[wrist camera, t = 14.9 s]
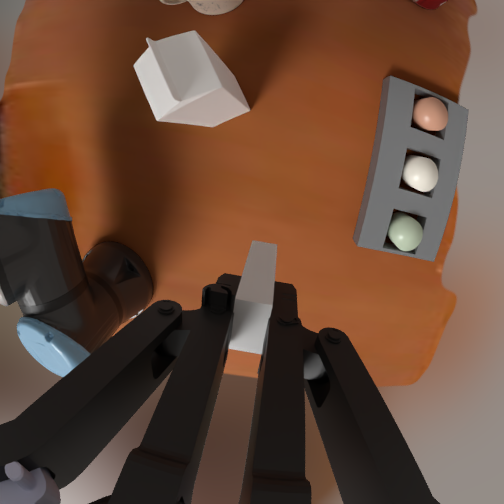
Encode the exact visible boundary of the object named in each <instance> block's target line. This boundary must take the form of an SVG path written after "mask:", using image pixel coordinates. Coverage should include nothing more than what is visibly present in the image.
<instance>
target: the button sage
mask: <svg viewBox="0 0 504 504" xmlns="http://www.w3.org/2000/svg"><path fill="white" fill-rule="evenodd" d="M387 236H388V237H389V238H390V240H391V241H392V242H393V243H394V244H395V245H396V246H397V247H398V248H399V249H400V250H403V251H411V250H413V249H415V248H416V247H417V246H418V245H419V244H420V242H421V240H422V236H423V230H422V227H421V225H420V224H419V223H418V222H417V221H416V220H415V219H413V218H412V217H410V216H409V215H408V214H406V213H404V212H396V213H394V214H392V217H391V220H390V224H389V228H388V231H387Z"/></svg>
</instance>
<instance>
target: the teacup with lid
mask: <svg viewBox="0 0 504 504" xmlns="http://www.w3.org/2000/svg"><path fill="white" fill-rule="evenodd" d="M160 1H161V2H162V3H164V4H167V5H176V4H180V3H183V2H186V1H188V2H189V3H190V4H191V5H192V7H193V8H194V9H195V10H197V11H198V12H200V13H203V14H207V15H218V14H223V13H227V12H229V11H231V10H233V9H235V8H236V7H238V6H239V5H240V4H241V3H242V1H243V0H160Z"/></svg>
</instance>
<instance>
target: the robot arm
mask: <svg viewBox="0 0 504 504" xmlns="http://www.w3.org/2000/svg"><path fill="white" fill-rule="evenodd" d="M276 255H277V244H271V243H265V242H259V241H252V244H251V247H250V251H249V254H248V257H247V261H246V264H245V267H244V271H243V274H242V276H237V275H232V274H226V273H224V274H223V275H221V276H220V277H219V278H218V280H217V282H216V284H209V285H207V286H205V287H204V288H203V291H202V306H201V308H200V309H197V310H182V307H181V306H180V304H178V303H177V302H175V301H171V300H161V301H157V302H155V303H153V304H152V305H151V306H150V307H148V308H147V309H146V310H145V311H144V309H145V308H146V307H147V305H148V304H149V302H150V300H151V298H152V294H153V284H152V279H151V276H150V273H149V271H148V269H147V267H146V265H145V264H144V262H143V261H142V260H141V258H140V257H139V256H138V255H137V254H136V253H135V252H134V251H132V250H131V249H130V248H128V247H126V246H125V245H123V244H120V243H117V242H103V243H100V244H98V245H96V246H95V247H93V248H92V249H91V250H90V251H88V253H87V254H86V255H85V257H84V258H83V261H82V259H81V256H80V252H79V249H78V245H77V242H76V238H75V234H74V230H73V226H72V217H71V216H70V214H69V211H68V207H67V203H66V199H65V196H64V194H63V193H62V192H61V191H60V190H58V189H54V188H52V189H45V190H39V191H34V192H28V193H24V194H19V195H15V196H10V197H7V198H3V199H0V304H2V305H4V306H8V305H10V304H12V303H14V302H16V301H17V302H18V304H19V306H20V309H21V311H22V313H23V317H21V318H20V319H19V322H18V324H17V333H18V336H19V338H20V340H21V342H22V343H23V345H24V346H25V348H26V349H27V350H28V352H29V353H30V354H31V355H32V356H33V357H34V358H35V359H36V360H37V361H38V362H39V363H40V364H42V365H43V366H44V367H45V368H47V369H48V370H50V371H51V372H53V373H55V374H57V375H59V376H62V377H63V378H62V379H61V380H60V381H58V382H57V383H56V384H55V385H54V386H53V387H52V388H50V389H49V390H48V391H47V392H46V393H45V394H43V395H42V396H41V397H40V398H39V399H37V400H36V401H35V402H34V403H33V404H32V405H30V406H29V407H28V408H27V409H26V410H25V411H24V412H22V413H21V414H20V415H19V416H18V417H17V418H16V419H14V420H12V421H9V422H7V423H4V424H1V425H0V504H60V501H61V499H60V492H59V489H61V488H63V487H65V486H67V485H68V484H69V483H71V482H72V481H74V480H75V479H76V478H77V477H78V476H79V475H80V474H81V473H82V472H83V471H84V470H85V469H86V468H87V467H88V465H89V464H90V463H91V462H92V461H93V460H94V459H95V457H97V455H98V454H99V453H100V452H101V451H102V450H103V448H105V446H106V445H107V444H108V443H109V442H110V441H111V439H112V438H113V437H114V436H115V435H116V434H117V433H118V432H119V431H120V430H121V428H122V427H123V426H124V425H125V424H126V423H127V422H128V420H129V419H130V418H131V417H132V416H133V415H134V414H135V413H136V411H137V410H138V409H139V408H140V407H141V406H142V405H143V403H144V402H145V401H146V400H147V399H148V398H149V396H150V395H151V394H152V393H153V392H154V391H155V390H156V388H157V387H158V386H159V385H160V384H161V383H162V381H163V380H164V379H165V378H166V377H167V376H168V374H169V373H170V372H171V371H172V372H171V375H170V377H169V379H168V382H167V384H166V386H165V389H164V391H163V393H162V396H161V398H160V400H159V402H158V405H157V407H156V409H155V412H154V414H153V416H152V419H151V421H150V423H149V426H148V428H147V431H146V433H145V435H144V438H143V440H142V442H141V444H140V446H139V447H138V448H135V449H133V450H132V451H131V452H130V454H129V455H128V457H127V459H126V462H125V464H124V466H123V469H122V471H121V473H120V476H119V478H118V481H117V483H116V485H115V488H114V490H113V493H112V495H109V496H106V497H103V498H101V499H98V500H96V501H94V502H91V503H89V504H191V500H192V494H193V488H194V483H195V480H196V476H197V472H198V468H199V464H200V461H201V457H202V453H203V449H204V445H205V441H206V437H207V433H208V430H209V426H210V421H211V418H212V414H213V410H214V406H215V402H216V399H217V395H218V391H219V387H220V383H221V379H222V375H223V371H224V367H225V363H226V360H227V355H228V348H229V349H234V350H239V351H245V352H251V353H257V354H262V356H261V360H260V364H259V369H258V373H257V374H258V381H257V389H256V396H255V403H254V410H253V417H252V424H251V431H250V438H249V445H248V452H247V458H246V464H245V470H244V477H243V483H242V490H241V495H240V500H239V504H311V485H310V482H309V481H308V480H307V479H306V477H305V397H304V388H305V391H306V394H307V397H308V400H309V402H310V405H311V408H312V411H313V414H314V417H315V420H316V423H317V426H318V429H319V432H320V435H321V438H322V441H323V444H324V447H325V450H326V452H327V456H328V459H329V461H330V464H331V468H332V471H333V474H334V476H335V479H336V482H337V485H338V488H339V491H340V494H341V497H342V500H343V503H344V504H440V503H439V502H438V501H437V500H436V499H434V497H433V496H432V494H431V492H430V490H429V488H428V485H427V483H426V481H425V479H424V477H423V475H422V473H421V471H420V469H419V467H418V465H417V463H416V461H415V459H414V457H413V455H412V453H411V451H410V449H409V447H408V445H407V443H406V441H405V439H404V438H403V436H402V433H401V432H400V430H399V428H398V426H397V424H396V422H395V420H394V418H393V417H392V415H391V413H390V411H389V409H388V407H387V405H386V403H385V402H384V400H383V398H382V396H381V394H380V392H379V391H378V389H377V387H376V385H375V383H374V382H373V380H372V378H371V376H370V375H369V373H368V371H367V369H366V367H365V366H364V364H363V362H362V360H361V359H360V357H359V355H358V353H357V352H356V350H355V348H354V347H353V345H352V343H351V341H350V340H349V338H348V336H347V335H346V334H345V333H344V332H342V331H341V330H338V329H335V328H323V329H322V330H320V331H319V333H315V332H313V331H310V330H308V329H306V328H305V327H303V326H302V323H301V320H300V319H299V318H298V310H297V292H296V289H295V287H294V286H293V285H292V284H288V283H282V282H276V281H275V269H276ZM139 314H140V315H139ZM136 316H137V317H136ZM134 317H136V318H135V319H133V320H132V321H131V322H130V323H129V324H127V325H126V326H125V327H124V328H122V329H121V330H120V331H119V332H117V333H116V334H115V335H114V336H113V337H112V335H113V334H114V333H115V331H116V330H117V329H118V327H119V326H120V325H121V324H123V323H124V322H126V321H128V320H129V319H131V318H134Z"/></svg>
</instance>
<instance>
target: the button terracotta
mask: <svg viewBox="0 0 504 504" xmlns="http://www.w3.org/2000/svg"><path fill="white" fill-rule="evenodd" d="M411 122H412V123H413V124H414V126H415V127H417V128H418V129H420V130H433V131H439V130H442V129H444V128H445V127H446V125H447V122H448V112H447V109H446V107H445V105H444V104H443V103H442V102H441V101H440V100H439V99H437V98H434V97H429V98H424V99H419V100H415V101H414V104H413V112H412V119H411Z"/></svg>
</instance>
